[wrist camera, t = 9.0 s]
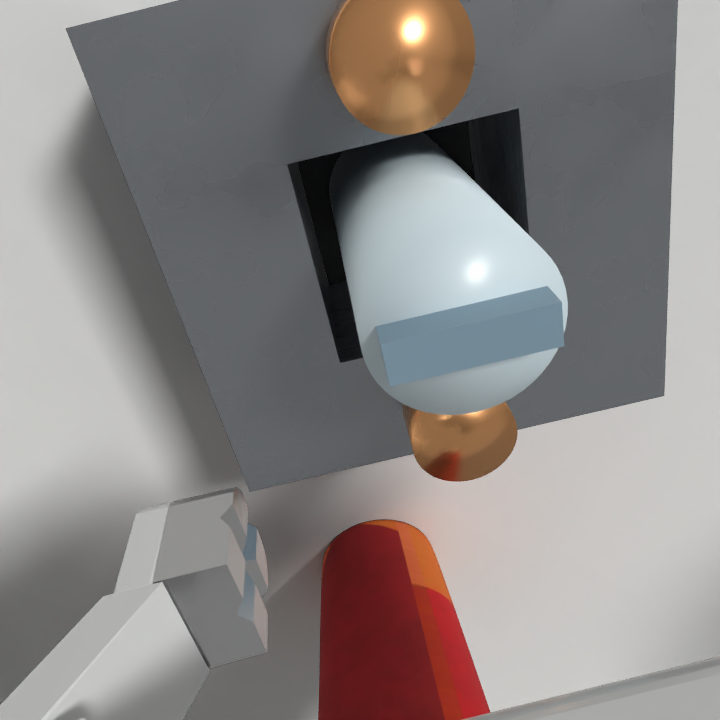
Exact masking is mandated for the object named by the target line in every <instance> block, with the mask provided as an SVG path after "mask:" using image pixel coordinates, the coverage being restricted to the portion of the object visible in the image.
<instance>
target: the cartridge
mask: <svg viewBox="0 0 720 720" xmlns="http://www.w3.org/2000/svg"><path fill="white" fill-rule="evenodd" d="M330 200H331V206H332V211H333V215H334V220H335V225H336V230H337V235H338V240H339V245H340V249H341V254H342V259H343V264H344V269H345V274H346V279H347V283H348V288H349V293H350V298H351V303H352V308H353V313H354V317H355V322H356V327H357V332H358V337H359V342H360V347H361V351H362V355H363V358H364V361H365V363H366V365H367V367H368V369H369V371H370V373H371V375H372V376H373V378H374V379H375V381H376V382H377V383H378V384H379V385H380V386H381V387H382V389H383V390H384V391H385V392H387V393H388V394H389V395H390V396H392V397H393V398H394V399H396V400H398V401H399V402H401V403H403V404H404V405H407V406H409V407H411V408H414V409H416V410H420V411H423V412H427V413H433V414H439V415H460V414H468V413H474V412H478V411H482V410H485V409H489V408H491V407H494V406H496V405H499V404H501V403H503V402H505V401H507V400H509V399H511V398H513V397H514V396H516V395H517V394H519V393H520V392H521V391H523V390H524V389H525V388H527V387H528V386H529V385H530V384H531V383H533V382H534V381H535V380H536V379H537V378H538V377H539V376H540V374H541V373H542V372H543V371H544V370H545V368H546V367H547V366H548V365H549V363H550V362H551V360H552V359H553V357H554V355H555V354H556V352H557V350H558V348H559V347H563V346H564V331H565V328H566V322H567V316H568V300H567V293H566V288H565V285H564V281H563V278H562V276H561V274H560V272H559V270H558V268H557V266H556V265H555V263H554V262H553V260H552V259H551V257H550V256H549V255H548V254H547V253H546V252H545V251H544V250H543V249H542V248H541V247H540V246H539V245H538V244H537V243H536V242H535V241H534V240H533V239H532V238H531V237H530V236H529V235H528V234H527V233H526V232H525V231H524V230H523V229H522V228H521V227H520V226H519V225H518V224H517V223H516V222H515V221H514V220H513V219H512V218H511V217H510V216H509V215H508V214H507V213H506V212H505V211H504V210H503V209H502V208H501V207H500V206H499V205H498V204H497V203H496V202H495V201H494V200H493V199H492V198H491V197H490V196H489V195H488V194H487V193H486V192H485V191H484V190H483V189H482V188H481V187H480V186H479V185H478V184H477V183H476V182H475V181H474V180H473V179H472V178H471V177H470V176H469V175H468V174H467V173H466V172H465V171H463V170H462V169H461V168H460V167H459V166H458V165H457V164H456V163H455V162H454V161H453V160H452V159H451V158H450V157H449V156H448V155H447V154H446V153H445V152H444V151H443V150H442V149H441V148H440V147H439V146H438V145H437V144H436V143H435V142H434V141H433V140H432V139H431V138H429V137H428V136H427V135H425V134H424V133H422V132H418V133H415V134H410V135H406V136H402V137H398V138H394V139H389V140H385V141H381V142H377V143H373V144H369V145H365V146H360V147H356V148H352V149H348V150H344V151H343V152H342V153H341V155H340V156H339V158H338V160H337V162H336V163H335V166H334V169H333V171H332V175H331V180H330Z"/></svg>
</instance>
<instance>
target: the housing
mask: <svg viewBox="0 0 720 720" xmlns="http://www.w3.org/2000/svg"><path fill="white" fill-rule="evenodd" d="M459 1H460V3H461V4H462V6H463V8H464V9H465V11H466V13H467V15H468V17H469V20H470V22H471V26H472V29H473V33H474V39H475V63H474V69H473V74H472V77H471V80H470V83H469V85H468V88H467V90H466V92H465V94H464V96H463V97H462V99H461V101H460V102H459V103H458V105H457V106H456V107H455V109H454V110H453V111H452V112H451V113H450V114H449V115H448V116H447V117H446V118H444V119H443V120H442V121H441V122H439V123H438V124H436V125H435V126H433V127H431V128H429V129H427V130H431V129H435V128H439V127H443V126H447V125H451V124H456V123H460V122H464V121H468V130H469V138H470V146H471V154H472V162H473V171H474V179H475V182H476V183H477V184H478V185H479V186H480V187H481V188H482V189H483V190H484V191H485V192H486V193H487V194H488V195H489V196H490V197H491V198H492V199H493V200H494V201H495V202H496V203H497V204H498V205H499V206H500V207H501V208H502V209H503V210H504V211H505V212H506V213H507V214H508V215H509V216H510V217H511V218H512V219H513V220H514V221H515V222H516V223H517V224H518V225H519V226H520V227H521V228H522V229H523V230H524V231H525V232H526V233H527V234H528V235H529V236H530V237H531V238H532V239H533V240H534V241H535V242H536V243H537V244H538V245H539V246H540V247H541V248H542V249H543V250H544V251H545V252H546V253H547V254H548V255H549V256H550V257H551V259H552V260H553V262H554V263H555V265H556V266H557V268H558V270H559V272H560V274H561V276H562V278H563V281H564V285H565V288H566V293H567V300H568V316H567V322H566V328H565V331H564V346H563V347H559V348H558V350H557V352H556V354H555V355H554V357H553V359H552V360H551V362H550V363H549V365H548V366H547V367H546V368H545V370H544V371H543V372H542V373H541V374H540V376H539V377H538V378H537V379H536V380H535V381H534V382H533V383H531V384H530V385H529V386H528V387H527V388H525V389H524V390H523V391H521V392H520V393H519V394H517V395H516V396H514V397H513V398H511V399H509V400H507V401H506V403H507V405H508V407H509V409H510V410H511V412H512V414H513V416H514V418H515V421H516V424H517V430H519V429H523V428H527V427H532V426H536V425H540V424H545V423H549V422H553V421H558V420H562V419H566V418H570V417H575V416H579V415H583V414H588V413H592V412H596V411H601V410H605V409H609V408H614V407H618V406H622V405H627V404H631V403H635V402H640V401H644V400H648V399H653V398H657V397H661V396H664V388H665V358H666V329H667V300H668V271H669V241H670V212H671V183H672V154H673V125H674V95H675V66H676V37H677V8H678V0H459ZM342 2H343V0H178V1H174V2H170V3H166V4H162V5H158V6H154V7H150V8H146V9H142V10H138V11H134V12H130V13H126V14H122V15H118V16H114V17H110V18H106V19H102V20H98V21H94V22H90V23H86V24H82V25H78V26H74V27H70V28H66V31H67V33H68V36H69V38H70V41H71V43H72V46H73V48H74V51H75V53H76V56H77V58H78V61H79V63H80V66H81V68H82V71H83V73H84V76H85V78H86V81H87V83H88V86H89V88H90V91H91V93H92V96H93V98H94V101H95V103H96V106H97V109H98V111H99V114H100V116H101V119H102V121H103V124H104V126H105V129H106V131H107V134H108V136H109V139H110V141H111V144H112V146H113V149H114V151H115V154H116V156H117V159H118V161H119V164H120V166H121V169H122V171H123V174H124V176H125V179H126V181H127V184H128V187H129V189H130V192H131V194H132V197H133V199H134V202H135V204H136V207H137V209H138V212H139V214H140V217H141V219H142V222H143V224H144V227H145V229H146V232H147V234H148V237H149V239H150V242H151V244H152V247H153V249H154V252H155V254H156V257H157V259H158V262H159V265H160V267H161V270H162V272H163V275H164V277H165V280H166V282H167V285H168V287H169V290H170V292H171V295H172V297H173V300H174V302H175V305H176V307H177V310H178V312H179V315H180V317H181V320H182V322H183V325H184V327H185V330H186V332H187V335H188V337H189V340H190V343H191V345H192V348H193V350H194V353H195V355H196V358H197V360H198V363H199V365H200V368H201V370H202V373H203V375H204V378H205V380H206V383H207V385H208V388H209V390H210V393H211V395H212V398H213V400H214V403H215V405H216V408H217V410H218V413H219V415H220V418H221V421H222V423H223V426H224V428H225V431H226V433H227V436H228V438H229V441H230V443H231V446H232V448H233V451H234V453H235V456H236V458H237V461H238V463H239V466H240V468H241V471H242V473H243V476H244V478H245V481H246V483H247V486H248V488H249V491H250V492H251V491H255V490H260V489H264V488H268V487H273V486H277V485H281V484H286V483H290V482H294V481H299V480H303V479H307V478H311V477H316V476H320V475H324V474H329V473H333V472H337V471H342V470H346V469H350V468H355V467H359V466H363V465H368V464H372V463H376V462H381V461H385V460H389V459H393V458H398V457H402V456H406V455H411V454H414V452H413V449H412V445H411V442H410V438H409V434H408V431H407V427H406V423H405V420H404V416H403V403H401V402H399V401H398V400H396V399H394V398H393V397H392V396H390V395H389V394H388V393H387V392H385V391H384V390H383V389H382V387H381V386H380V385H379V384H378V383H377V382H376V381H375V379H374V378H373V376H372V375H371V373H370V371H369V369H368V367H367V365H366V363H365V361H364V358H363V355H362V351H361V347H360V342H359V337H358V332H357V327H356V322H355V317H354V313H353V308H352V303H351V298H350V293H349V288H348V283H347V281H345V282H341V283H337V284H333V285H329V283H328V280H327V276H326V272H325V268H324V264H323V260H322V256H321V252H320V249H319V245H318V241H317V237H316V233H315V229H314V225H313V221H312V218H311V214H310V210H309V206H308V202H307V198H306V194H305V190H304V187H303V183H302V179H301V175H300V171H299V167H298V163H297V162H299V161H303V160H307V159H311V158H315V157H319V156H323V155H327V154H332V153H336V152H340V151H344V150H348V149H352V148H356V147H360V146H365V145H369V144H373V143H377V142H381V141H385V140H389V139H394V138H398V137H402V136H406V135H390V134H385V133H381V132H378V131H376V130H373V129H371V128H369V127H367V126H366V125H364V124H362V123H361V122H360V121H359V120H357V119H356V118H355V117H354V116H353V115H352V114H351V113H350V112H349V111H348V109H347V108H346V107H345V105H344V104H343V102H342V101H341V99H340V97H339V95H338V93H337V91H336V89H335V87H334V86H333V83H332V81H331V78H330V76H329V72H328V69H327V63H326V39H327V34H328V29H329V26H330V23H331V20H332V18H333V16H334V14H335V12H336V10H337V9H338V7H339V6H340V4H341V3H342ZM427 130H425V131H427ZM409 135H410V134H409Z"/></svg>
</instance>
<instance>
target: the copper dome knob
mask: <svg viewBox="0 0 720 720" xmlns="http://www.w3.org/2000/svg"><path fill="white" fill-rule="evenodd" d="M326 63H327V69H328V72H329V76H330V78H331V81H332V83H333V86H334V87H335V89H336V91H337V93H338V95H339V97H340V99H341V101H342V102H343V104H344V105H345V107H346V108H347V109H348V111H349V112H350V113H351V114H352V115H353V116H354V117H355V118H356V119H357V120H359V121H360V122H361V123H362V124H364V125H366V126H367V127H369V128H371V129H373V130H376V131H378V132H381V133H385V134H390V135H409V134H415V133H418V132H422V131H425V130H427V129H429V128H431V127H433V126H435V125H436V124H438V123H439V122H441V121H442V120H443V119H444V118H446V117H447V116H448V115H449V114H450V113H451V112H452V111H453V110H454V109H455V107H456V106H457V105H458V103H459V102H460V101H461V99H462V97H463V96H464V94H465V92H466V90H467V88H468V85H469V83H470V80H471V77H472V74H473V69H474V63H475V39H474V33H473V29H472V26H471V22H470V20H469V17H468V15H467V13H466V11H465V9H464V8H463V6H462V4H461V3H460V1H459V0H343V2H342V3H341V4H340V6H339V7H338V9H337V10H336V12H335V14H334V16H333V18H332V20H331V23H330V26H329V29H328V34H327V39H326Z"/></svg>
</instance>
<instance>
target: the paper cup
mask: <svg viewBox="0 0 720 720" xmlns="http://www.w3.org/2000/svg"><path fill="white" fill-rule="evenodd" d="M487 713H490V710H489V707H488V704H487V701H486V698H485V695H484V692H483V689H482V686H481V684H480V681H479V678H478V675H477V672H476V669H475V666H474V663H473V660H472V657H471V654H470V652H469V649H468V646H467V643H466V640H465V637H464V634H463V631H462V628H461V626H460V623H459V620H458V617H457V614H456V611H455V608H454V605H453V603H452V600H451V597H450V594H449V591H448V588H447V586H446V583H445V580H444V577H443V574H442V572H441V569H440V566H439V564H438V561H437V558H436V555H435V553H434V551H433V548H432V546H431V544H430V542H429V540H428V539H427V537H426V536H425V535H424V534H423V533H422V532H421V531H420V530H418V529H417V528H415V527H414V526H412V525H410V524H407V523H404V522H401V521H396V520H372V521H367V522H363V523H360V524H357V525H355V526H352V527H350V528H348V529H347V530H345V531H343V532H342V533H341V534H339V535H338V536H337V537H336V538H335V539H334V540H333V541H332V542H331V544H330V545H329V547H328V548H327V550H326V552H325V555H324V560H323V567H322V585H321V621H320V679H319V712H318V720H462V719H466V718H471V717H475V716H479V715H483V714H487Z"/></svg>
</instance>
